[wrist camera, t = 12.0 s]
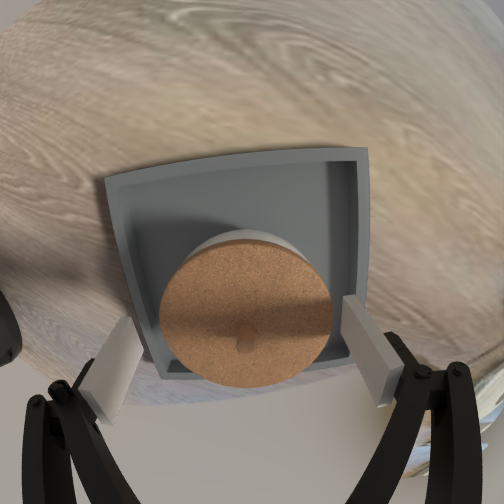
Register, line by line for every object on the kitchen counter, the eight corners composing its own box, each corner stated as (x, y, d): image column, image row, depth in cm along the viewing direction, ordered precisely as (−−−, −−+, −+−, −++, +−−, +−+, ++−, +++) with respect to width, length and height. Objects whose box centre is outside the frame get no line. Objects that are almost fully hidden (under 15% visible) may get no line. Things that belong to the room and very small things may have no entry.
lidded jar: (191, 327, 25) (169, 402, 16) (178, 215, 22) (134, 255, 13) (304, 326, 25) (326, 401, 16) (313, 213, 22) (354, 253, 13)
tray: (166, 363, 27) (161, 379, 25) (117, 174, 21) (104, 177, 18) (350, 347, 27) (357, 362, 25) (355, 147, 20) (367, 147, 18)
